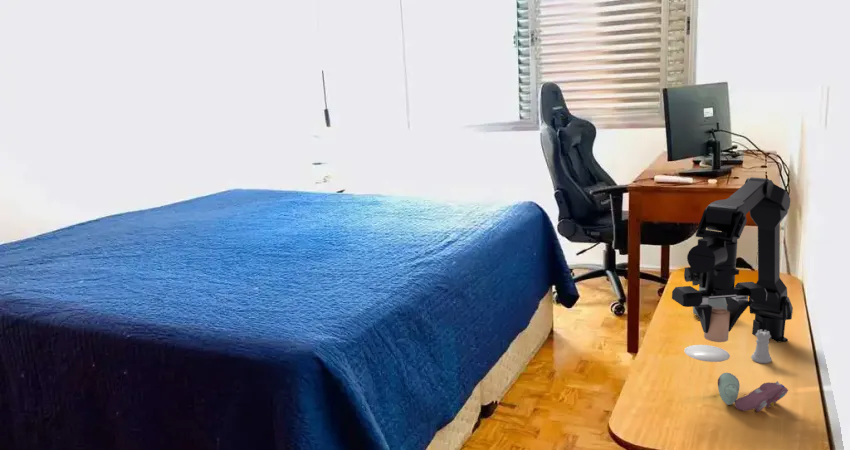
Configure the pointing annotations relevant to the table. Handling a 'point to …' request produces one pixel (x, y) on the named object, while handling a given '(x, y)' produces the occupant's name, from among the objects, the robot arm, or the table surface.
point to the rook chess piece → (762, 347)
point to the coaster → (707, 353)
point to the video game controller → (761, 397)
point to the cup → (718, 325)
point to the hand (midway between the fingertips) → (716, 331)
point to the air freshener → (714, 302)
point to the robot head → (728, 388)
